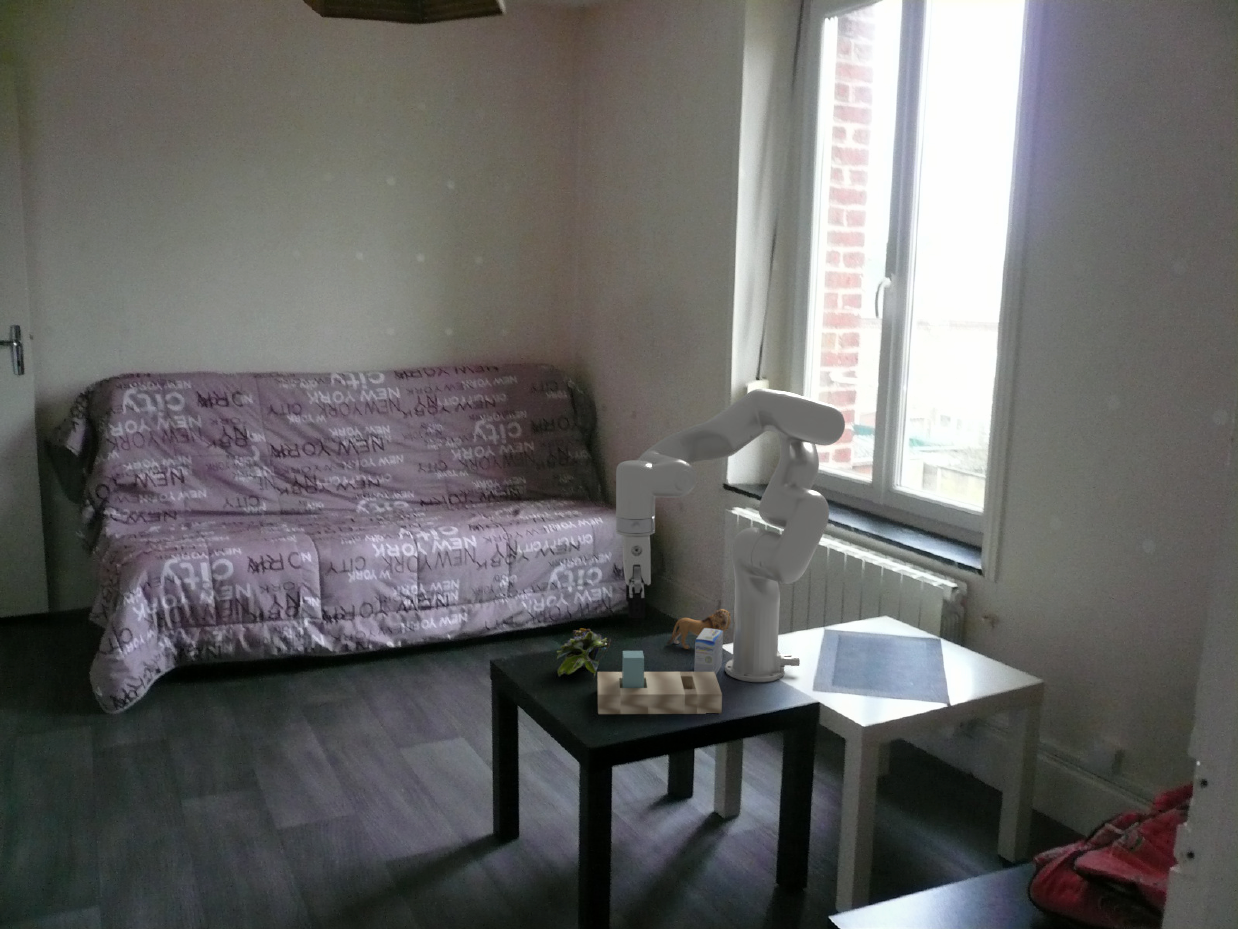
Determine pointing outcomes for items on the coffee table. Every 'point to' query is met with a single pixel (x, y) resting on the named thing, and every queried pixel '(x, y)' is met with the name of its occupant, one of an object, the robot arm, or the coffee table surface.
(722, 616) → the lion figurine
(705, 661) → the medicine box
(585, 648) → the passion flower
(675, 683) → the bore board
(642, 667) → the square peg
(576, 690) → the coffee table surface
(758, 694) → the coffee table surface
